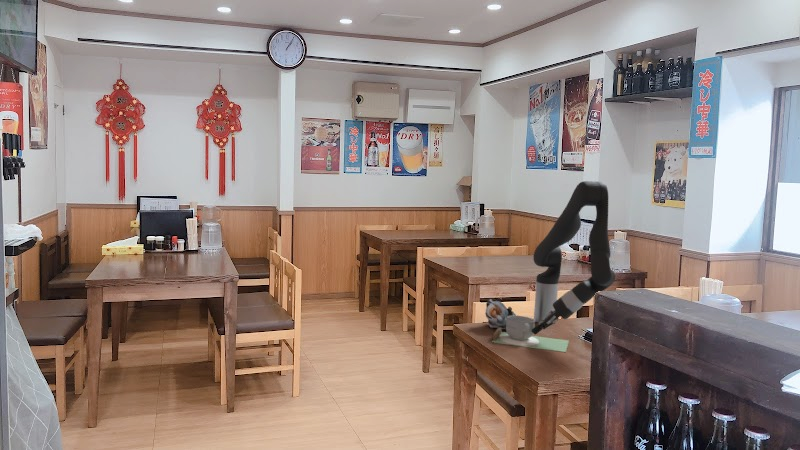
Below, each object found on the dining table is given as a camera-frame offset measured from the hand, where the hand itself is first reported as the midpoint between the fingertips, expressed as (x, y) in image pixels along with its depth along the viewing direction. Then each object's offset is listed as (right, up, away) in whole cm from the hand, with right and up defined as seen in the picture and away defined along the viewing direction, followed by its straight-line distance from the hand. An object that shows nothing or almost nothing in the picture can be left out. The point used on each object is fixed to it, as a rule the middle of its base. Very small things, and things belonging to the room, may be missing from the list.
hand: (533, 332), depth 236 cm
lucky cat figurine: (-9, -2, +19) cm, 21 cm away
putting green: (-1, -4, +1) cm, 4 cm away
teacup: (-5, -3, +3) cm, 6 cm away
